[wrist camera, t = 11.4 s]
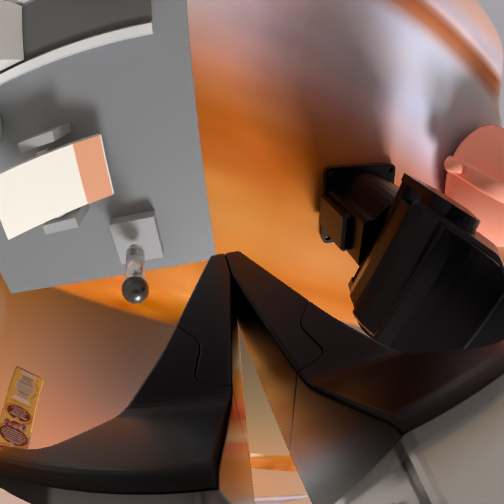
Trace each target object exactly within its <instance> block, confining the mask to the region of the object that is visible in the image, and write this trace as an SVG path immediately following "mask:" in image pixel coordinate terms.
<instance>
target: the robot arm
mask: <svg viewBox="0 0 504 504" xmlns="http://www.w3.org/2000/svg"><path fill="white" fill-rule="evenodd" d="M389 168H390V170H389V171H388V169H389ZM330 171H332V174H331V175H330V176H329V175H328V174H329V172H330ZM394 177H395V166H394V165H393V164H391V163H372V164H355V165H340V166H329V167H327V168H325V170H324V173H323V193H322V195H321V196H320V217H319V224H320V225H321V239H322V240H323V241H324V242H325V243H330V242H335V244H336V245H337V246H338V247H339V248H340V249H341V250H342V251H346V250H347V252H348V253H349V254H350V255H351V257H352V258H353V259H354V260H355V261H356V263H357V264H358V265H359V266H360V267H359V269H358V270H357V272H356V274H355V276H354V278H353V277H352V278H351V280H350V282H349V284H348V285H349V289H350V297H351V300H352V302H353V305H354V310H353V314H354V317H355V318H356V319H357V321H358V323H359V325H360V327H361V329H362V330H363V331H364V332H365V333H366V334H367V335H368V336H369V337H368V336H366V335H364V334H362V333H360V332H359V331H357V330H355V329H353V328H351V327H349V326H348V325H346V324H344V323H342V322H341V321H339V320H337V319H335V318H334V317H332V316H331V315H329V314H328V313H326V312H325V311H323V310H321V309H320V308H318V307H317V306H316V305H314V304H313V303H311V302H309V301H308V300H307V299H306V298H304V297H303V296H301V295H300V294H299V293H297V292H296V291H294V290H293V289H292V288H290V287H289V286H287V285H286V284H284V283H283V282H282V281H280V280H279V279H277V278H276V277H275V276H273V275H272V274H270V273H269V272H268V271H266V270H265V269H263V268H262V267H261V266H259V265H258V264H256V263H255V262H254V261H252V260H251V259H249V258H248V257H247V256H245V255H244V254H242V253H241V252H239V251H235V252H230V253H226V255H225V254H218V255H212V256H211V257H210V259H209V261H208V263H207V265H206V267H205V269H204V271H203V273H202V275H201V277H200V279H199V281H198V283H197V285H196V287H195V289H194V291H193V293H192V295H191V297H190V299H189V301H188V303H187V305H186V307H185V309H184V311H183V313H182V315H181V317H180V319H179V321H178V324H177V327H176V328H175V329H174V332H173V334H172V336H171V338H170V340H169V342H168V344H167V345H166V348H165V349H164V351H163V353H162V354H161V356H160V358H159V359H158V361H157V363H156V364H155V366H154V367H153V369H152V370H151V372H150V373H149V375H148V376H147V378H146V379H145V381H144V383H143V384H142V385H141V387H140V389H139V390H138V392H137V393H136V395H135V396H134V398H133V399H132V401H131V402H130V404H129V405H128V406H127V407H126V408H125V410H124V411H123V412H121V413H120V414H119V415H118V416H116V417H115V418H113V419H111V420H109V421H107V422H105V423H103V424H101V425H99V426H97V427H94V428H92V429H90V430H88V431H86V432H84V433H81V434H79V435H77V436H74V437H72V438H70V439H68V440H65V441H63V442H61V443H58V444H55V445H53V446H50V447H45V448H41V449H22V448H16V447H4V448H1V449H0V488H1V489H3V490H5V491H7V492H9V493H10V494H12V495H14V496H16V497H18V498H20V499H22V500H24V501H27V502H29V503H31V504H255V501H254V493H253V484H252V473H251V463H250V453H249V444H248V433H247V423H246V412H245V401H244V389H243V378H242V366H241V354H240V342H239V330H238V324H239V327H240V330H241V333H242V335H243V338H244V341H245V343H246V346H247V349H248V351H249V354H250V356H251V359H252V362H253V364H254V366H255V369H256V371H257V374H258V377H259V379H260V382H261V384H262V387H263V389H264V392H265V394H266V397H267V399H268V402H269V404H270V407H271V409H272V412H273V414H274V416H275V419H276V421H277V424H278V426H279V429H280V431H281V433H282V436H283V438H284V440H285V443H286V445H287V448H288V449H289V451H290V455H291V457H292V459H293V462H294V464H295V466H296V469H297V471H298V473H299V475H300V478H301V480H302V482H303V484H304V487H305V489H306V491H307V493H308V496H309V498H310V500H311V502H312V504H504V263H503V261H502V258H501V256H500V254H499V251H498V249H497V247H496V245H495V244H494V243H492V242H491V241H490V240H488V239H487V238H486V237H484V236H483V235H482V234H480V233H479V232H477V231H476V230H477V228H478V226H479V224H480V222H481V221H480V220H479V219H478V218H477V217H476V216H475V215H473V214H472V213H471V212H470V211H469V210H468V209H467V208H465V207H464V206H462V205H461V204H459V203H458V202H456V201H454V200H453V199H451V198H450V197H448V196H447V195H445V194H443V193H442V192H440V191H438V190H436V189H434V188H432V187H431V186H429V185H427V184H425V183H423V182H421V181H419V180H417V179H416V178H414V177H412V176H410V175H408V174H406V173H404V175H403V177H402V179H401V180H402V183H401V185H400V187H398V186H397V185H395V184H394ZM327 235H329V236H328V238H326V236H327ZM237 320H238V322H237ZM370 337H371V338H370Z"/></svg>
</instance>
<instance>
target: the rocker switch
mask: <svg viewBox="0 0 504 504" xmlns="http://www.w3.org/2000/svg"><path fill="white" fill-rule="evenodd" d="M35 155H36V156H35V157H32V158H30V159H28V160H25V161H23V162H21V163H19V164H16V165H14V166H12V167H10V168H8V169H6V170H3V171H1V172H0V220H1V223H2V226H3V228H4V231H5V233H6V236H7V238H8V240H10V239H11V238H13V237H15V236H18V235H20V234H22V233H24V232H26V231H28V230H30V229H32V228H34V227H36V226H38V225H40V224H43V223H45V222H47V221H49V220H51V219H54V218H58V217H61V216H63V215H64V214H65V213H67V212H70V211H72V210H74V209H77V208H79V207H81V206H84V205H86V204H90V203H93V202H95V201H98V200H100V199H103V198H105V197H108V196H110V195H113V194H114V191H113V187H112V182H111V178H110V174H109V170H108V165H107V161H106V156H105V151H104V146H103V141H102V136H101V134H95V135H91V136H88V137H85V138H82V139H80V140H77V141H74V142H71V143H68V144H66V145H63V146H60V147H57V148H55V149H52V150H50V151H48V148H45V149H42V150H40V151H38V152H36V153H35Z"/></svg>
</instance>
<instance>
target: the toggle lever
mask: <svg viewBox="0 0 504 504" xmlns="http://www.w3.org/2000/svg"><path fill="white" fill-rule="evenodd" d="M122 294H123V297H124V298H125V299H126V300H127V301H128V302H130V303H132V304H139V303H142V302H143V301H144V300H145V299H146V298H147V296H148V294H149V287H148V284H147V282H146V281H145V252H144V249H143V248H142V246H140V245H138V244H133V245H131V246H129V247H128V249H127V251H126V266H125V281H124V282H123V285H122Z"/></svg>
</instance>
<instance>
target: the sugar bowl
mask: <svg viewBox="0 0 504 504" xmlns="http://www.w3.org/2000/svg"><path fill="white" fill-rule="evenodd" d="M444 167H445V170H447V176H446V182H445V195H447V196H448V197H450V198H451V199H453V200H454V201H456V202H458V203H459V204H461V205H462V206H464V207H465V208H467V209H468V210H469V211H470V212H471V213H472V214H473V215H475V216H476V217H477V218H478V219H479V220H480V221H481V222H480V224H479V226H478V228H477V230H476V231H477V232H479V233H480V234H482V235H483V236H484V237H486V238H487V239H488V240H490V241H491V242H492V243H494V244H495V245H496V246H504V128H501V127H499V126H497V125H485V126H482V127H480V128H478V129H476V130H475V131H473V132H472V133H471V134H469V135H468V136H467V137H466V138H465V139H464V140H463V141H462V142H461V143H460V145H459V146H458V148H457V149H456V151H455V153H454V155H453V156H448V157H447V158H446V160H445V162H444Z"/></svg>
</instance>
